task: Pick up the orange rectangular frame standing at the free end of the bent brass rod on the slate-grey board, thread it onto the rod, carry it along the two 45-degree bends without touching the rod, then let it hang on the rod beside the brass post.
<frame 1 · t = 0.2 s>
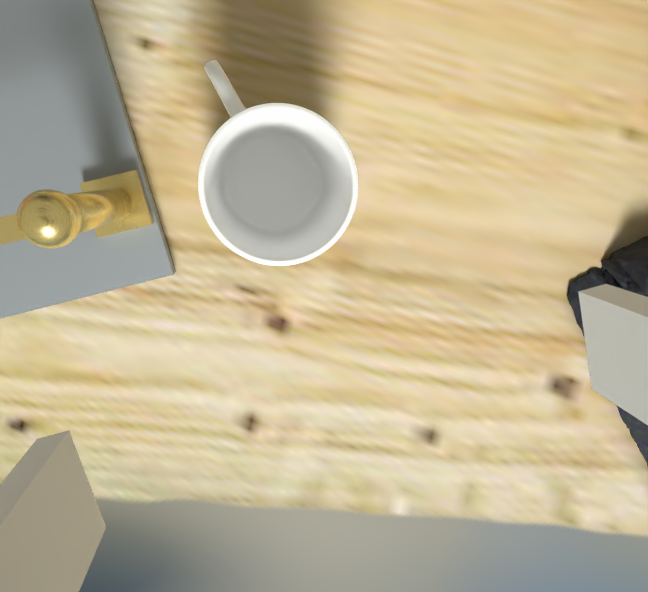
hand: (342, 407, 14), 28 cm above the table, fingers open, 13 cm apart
mug: (263, 161, 40), on the table
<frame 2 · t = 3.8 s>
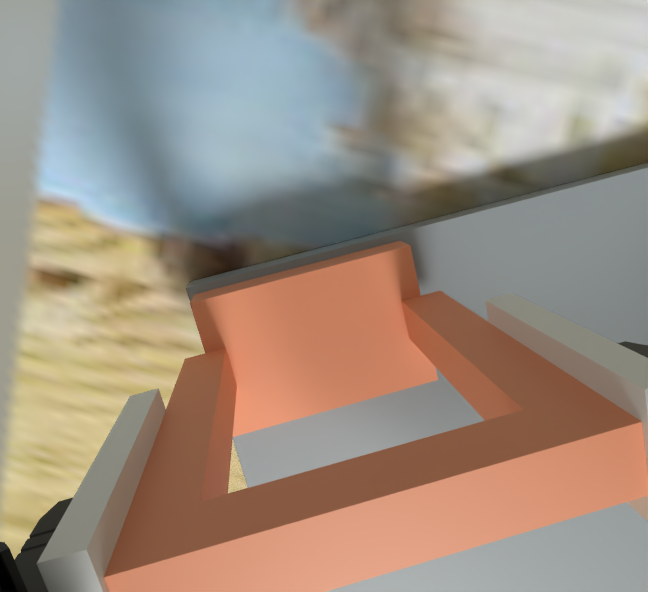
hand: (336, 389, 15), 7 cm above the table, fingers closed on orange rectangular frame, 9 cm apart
board: (498, 493, 25), on the table
orange rectangular frame: (315, 332, 21), point 1 cm above the table, touching board, gripper
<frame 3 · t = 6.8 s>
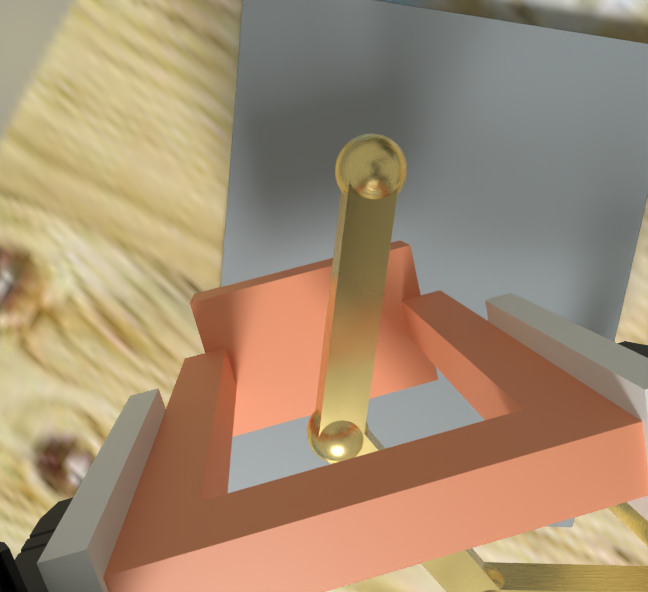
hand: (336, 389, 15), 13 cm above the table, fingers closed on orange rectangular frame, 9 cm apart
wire: (404, 293, 28), resting on board
board: (424, 287, 29), on the table
orange rectangular frame: (315, 331, 21), point 7 cm above the table, touching gripper
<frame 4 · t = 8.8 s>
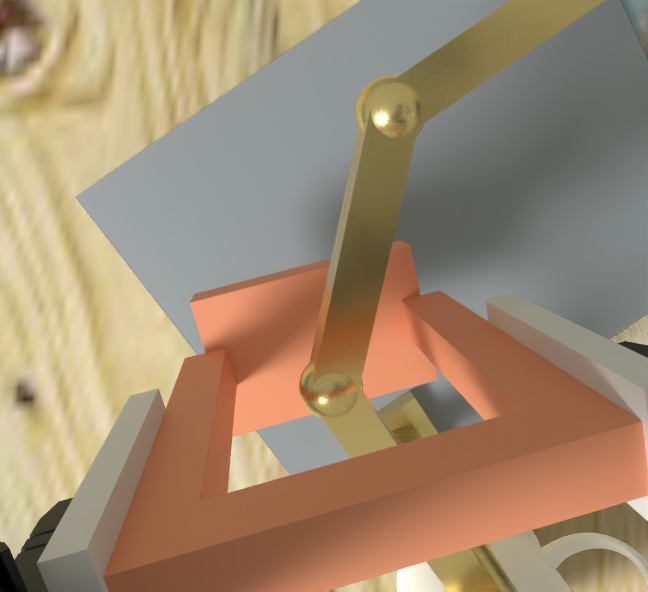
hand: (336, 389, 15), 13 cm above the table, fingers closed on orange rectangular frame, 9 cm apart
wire: (407, 213, 27), resting on board
mug: (489, 550, 32), on the table
board: (425, 225, 28), on the table
orange rectangular frame: (315, 331, 21), point 7 cm above the table, touching gripper
when the fingers open (11 cm above the table, at t = 10.2 s): orange rectangular frame drops 2 cm, resting on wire.
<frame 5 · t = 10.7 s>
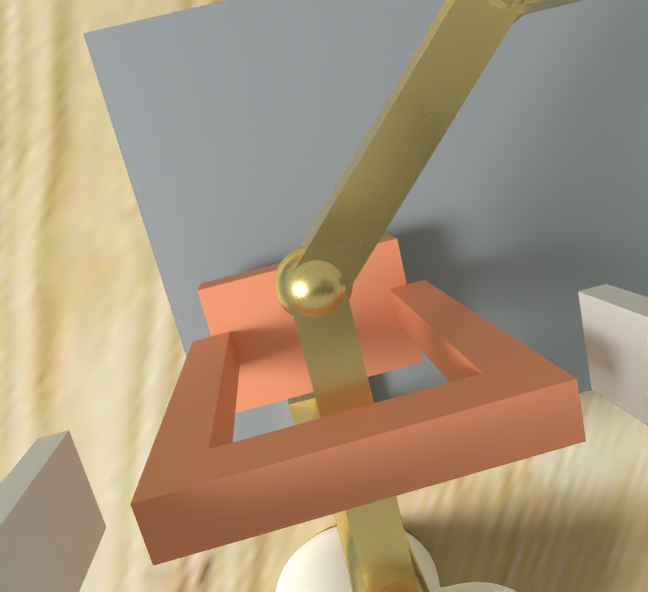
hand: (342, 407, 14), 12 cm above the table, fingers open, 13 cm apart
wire: (425, 190, 25), resting on board
mug: (385, 577, 30), on the table
board: (438, 210, 26), on the table
orange rectangular frame: (311, 318, 23), point 3 cm above the table, touching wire
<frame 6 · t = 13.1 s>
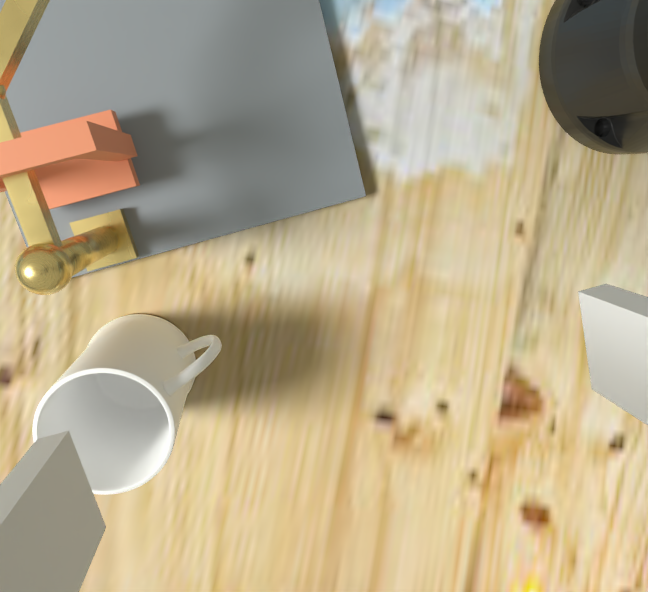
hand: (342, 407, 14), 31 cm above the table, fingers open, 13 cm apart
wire: (156, 92, 41), resting on board
mug: (160, 356, 45), on the table
board: (166, 105, 41), on the table
orange rectangular frame: (72, 163, 38), point 3 cm above the table, touching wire
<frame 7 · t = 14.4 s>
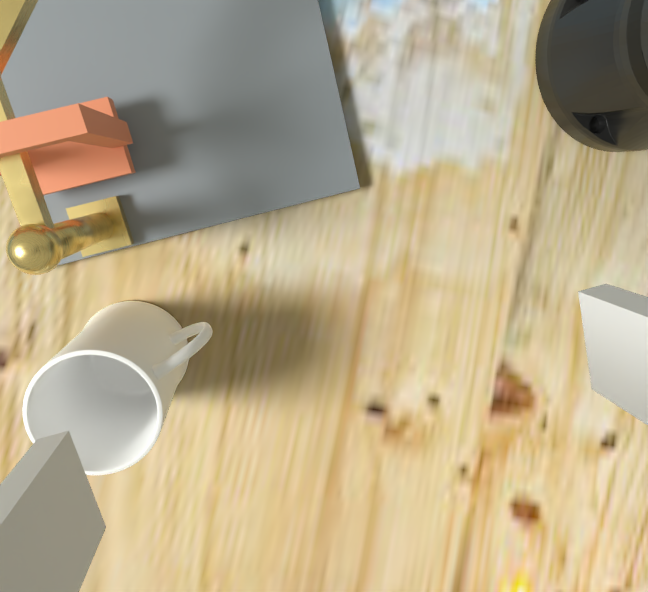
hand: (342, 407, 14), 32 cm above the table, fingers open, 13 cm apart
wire: (154, 81, 41), resting on board
mug: (154, 343, 46), on the table
board: (164, 94, 42), on the table
orange rectangular frame: (69, 149, 39), point 3 cm above the table, touching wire
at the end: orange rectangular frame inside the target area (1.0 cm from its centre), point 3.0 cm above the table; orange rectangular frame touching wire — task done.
